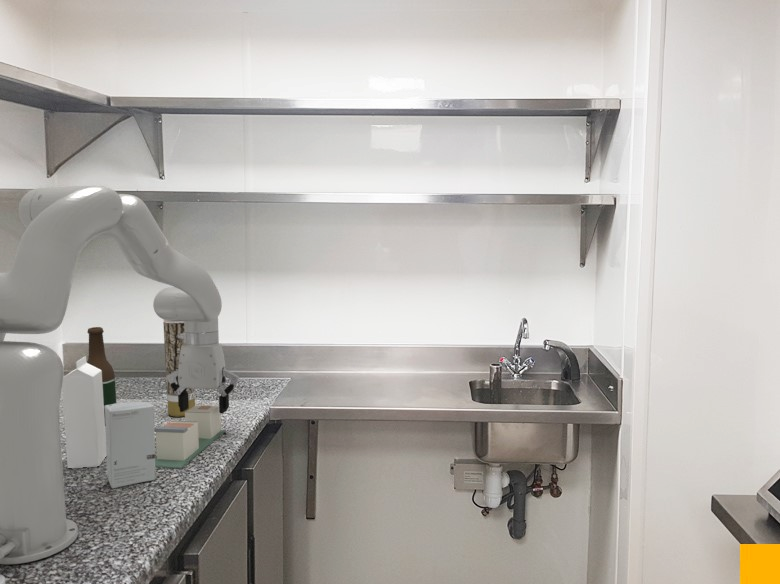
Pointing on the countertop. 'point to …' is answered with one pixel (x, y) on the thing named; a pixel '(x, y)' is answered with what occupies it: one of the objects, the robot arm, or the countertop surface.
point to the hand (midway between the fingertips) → (203, 411)
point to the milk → (84, 416)
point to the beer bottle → (102, 364)
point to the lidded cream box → (176, 440)
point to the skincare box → (130, 443)
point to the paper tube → (174, 365)
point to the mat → (179, 463)
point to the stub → (205, 420)
